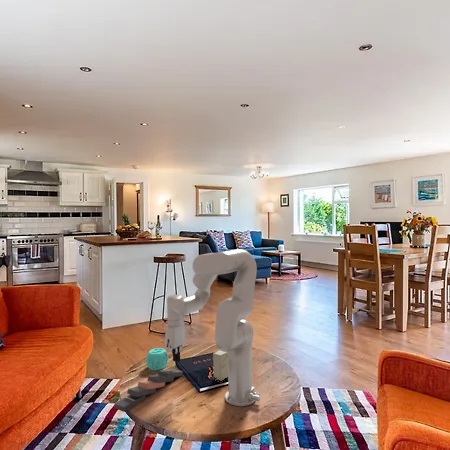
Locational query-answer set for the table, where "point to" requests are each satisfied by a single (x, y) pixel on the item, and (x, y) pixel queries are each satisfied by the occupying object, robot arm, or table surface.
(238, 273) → the robot arm
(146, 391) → the domino
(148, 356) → the decorative dice
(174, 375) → the domino
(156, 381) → the domino
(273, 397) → the table surface
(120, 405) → the domino
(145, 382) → the domino
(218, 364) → the skincare box
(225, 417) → the table surface
